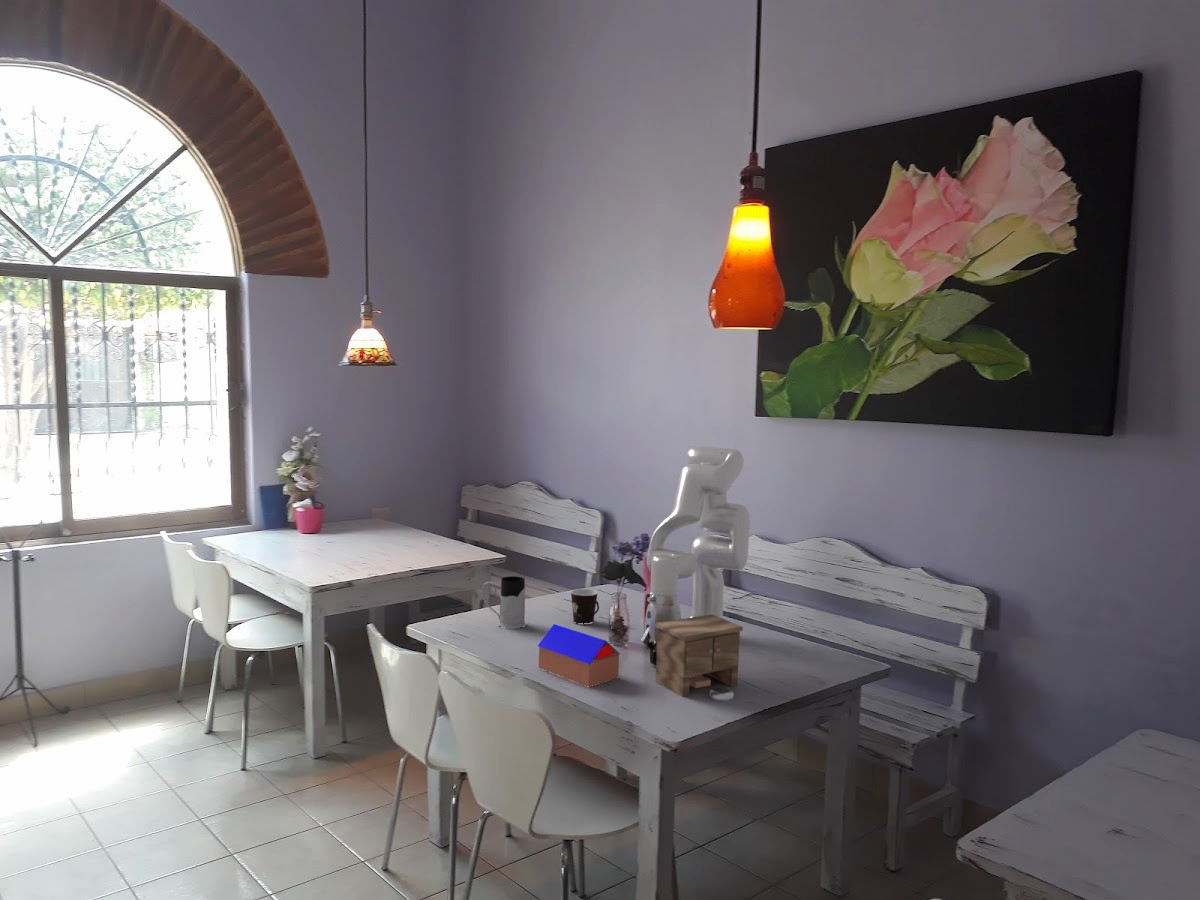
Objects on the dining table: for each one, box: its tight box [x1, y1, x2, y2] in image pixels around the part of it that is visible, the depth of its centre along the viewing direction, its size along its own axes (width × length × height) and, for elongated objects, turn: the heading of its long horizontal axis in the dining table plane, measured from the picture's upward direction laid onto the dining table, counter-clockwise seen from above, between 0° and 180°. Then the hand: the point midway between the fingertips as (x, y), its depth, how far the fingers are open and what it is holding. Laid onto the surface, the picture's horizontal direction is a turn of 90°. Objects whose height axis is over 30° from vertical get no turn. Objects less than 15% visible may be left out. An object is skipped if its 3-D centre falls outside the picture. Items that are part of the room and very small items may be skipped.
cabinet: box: [655, 615, 744, 698], centre depth 240 cm, size 14×19×16 cm
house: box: [537, 623, 621, 688], centre depth 246 cm, size 12×20×12 cm, turn 46°
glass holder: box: [481, 575, 526, 629], centre depth 288 cm, size 9×14×15 cm, turn 88°
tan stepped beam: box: [649, 644, 712, 689], centre depth 247 cm, size 22×5×7 cm, turn 32°
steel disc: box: [709, 687, 735, 702], centre depth 232 cm, size 6×6×2 cm
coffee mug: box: [570, 588, 600, 624], centre depth 293 cm, size 12×9×10 cm
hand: (661, 662), depth 254 cm, fingers closed on tan stepped beam, 4 cm apart
